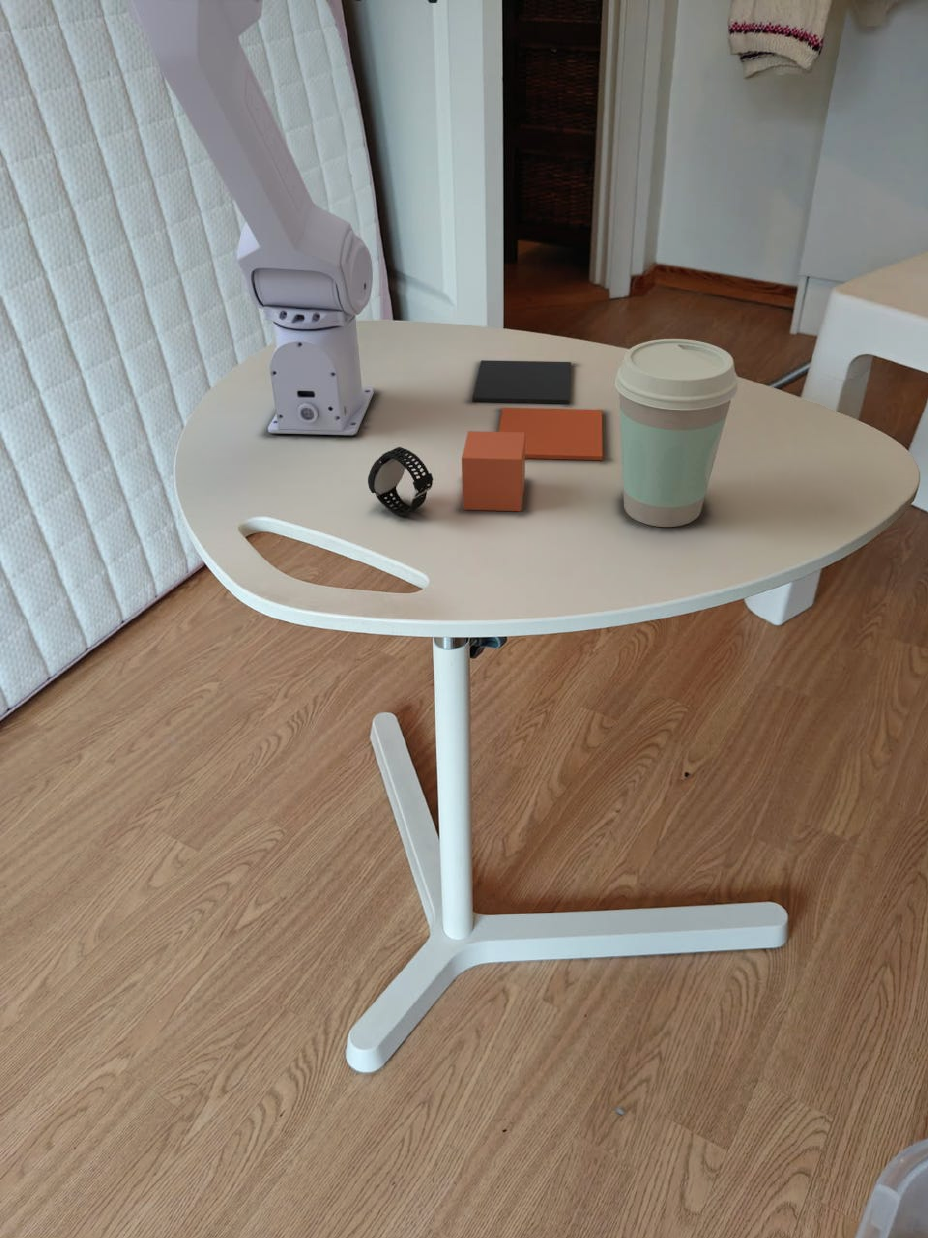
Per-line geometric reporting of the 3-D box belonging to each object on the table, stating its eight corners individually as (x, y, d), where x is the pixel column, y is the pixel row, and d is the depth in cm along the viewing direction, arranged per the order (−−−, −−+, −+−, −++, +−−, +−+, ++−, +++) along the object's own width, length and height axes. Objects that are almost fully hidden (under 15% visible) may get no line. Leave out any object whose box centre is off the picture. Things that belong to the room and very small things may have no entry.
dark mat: (569, 403, 91) (569, 399, 90) (472, 401, 92) (472, 397, 91) (570, 365, 98) (571, 361, 98) (481, 363, 99) (481, 360, 98)
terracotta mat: (602, 460, 82) (602, 456, 81) (494, 457, 82) (494, 453, 82) (601, 413, 89) (602, 409, 89) (502, 411, 90) (502, 407, 89)
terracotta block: (521, 511, 75) (521, 459, 73) (463, 509, 76) (461, 457, 73) (524, 483, 79) (525, 432, 76) (469, 481, 79) (467, 430, 77)
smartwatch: (411, 491, 78) (407, 434, 75) (439, 521, 74) (436, 462, 71) (363, 504, 77) (357, 446, 74) (389, 535, 73) (384, 475, 70)
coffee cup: (724, 539, 71) (749, 384, 64) (606, 535, 72) (618, 382, 65) (713, 482, 78) (734, 336, 71) (605, 479, 79) (615, 334, 72)
